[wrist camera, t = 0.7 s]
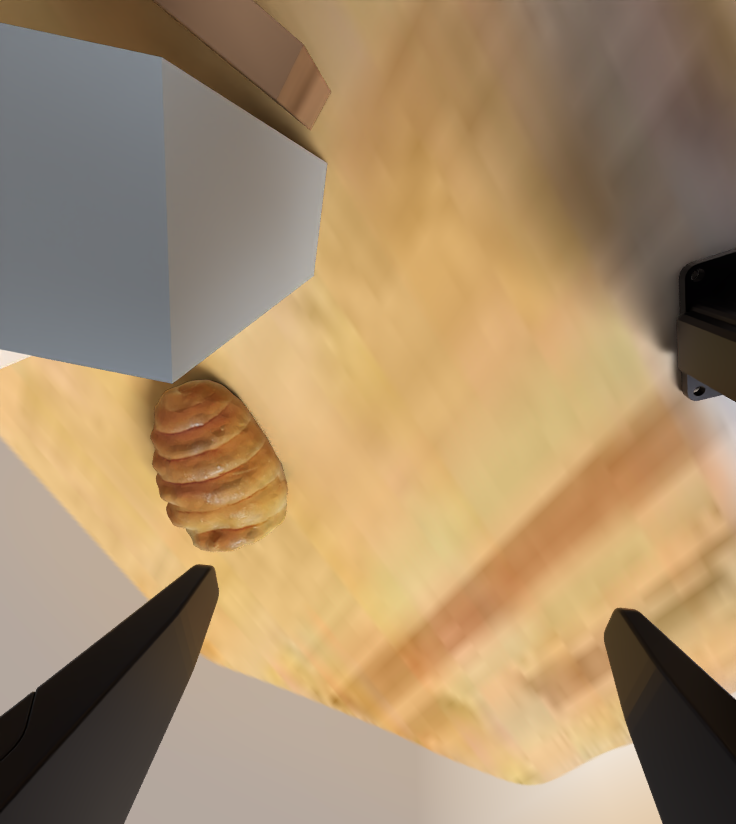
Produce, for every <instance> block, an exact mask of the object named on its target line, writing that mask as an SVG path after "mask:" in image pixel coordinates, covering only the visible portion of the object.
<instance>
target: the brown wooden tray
mask: <svg viewBox="0 0 736 824" xmlns="http://www.w3.org/2000/svg"><path fill="white" fill-rule="evenodd" d="M152 1H154V2H155V3H156V4H157V5H158V6H160V7H161V8H162V9H163V10H165V11H166V12H167V13H168V14H169V15H171V16H172V17H173V18H174V19H175V20H177V21H178V22H179V23H180V24H182V25H183V26H184V27H185V28H186V29H188V30H189V31H190V32H191V33H193V34H194V35H195V36H196V37H197V38H199V39H200V40H201V41H202V42H204V43H205V44H206V45H207V46H208V47H210V48H211V49H212V50H213V51H215V52H216V53H217V54H218V55H219V56H221V57H222V58H223V59H224V60H225V61H227V62H228V63H229V64H230V65H232V66H233V67H234V68H235V69H236V70H238V71H239V72H240V73H241V74H243V75H244V76H245V77H246V78H247V79H249V80H250V81H251V82H252V83H254V84H255V85H256V86H257V87H258V88H260V89H261V90H262V91H263V92H265V93H266V94H267V95H268V96H269V97H271V98H272V99H273V100H274V101H275V102H277V103H278V104H279V105H280V106H282V107H283V108H284V109H285V110H286V111H288V112H289V113H290V114H291V115H293V116H294V117H295V118H296V119H297V120H299V121H300V122H301V123H302V124H304V125H305V126H306V127H307V128H308V129H310V130H311V128H312V127H313V125H314V123H315V121H316V119H317V117H318V115H319V113H320V112H321V110H322V108H323V106H324V104H325V102H326V100H327V99H328V97H329V95H330V93H331V91H330V89H329V87H328V85H327V84H326V82H325V80H324V79H323V77H322V75H321V73H320V72H319V70H318V68H317V67H316V65H315V63H314V62H313V60H312V58H311V56H310V55H309V53H308V51H307V50H306V48H305V46H304V44H302V43H301V42H300V41H299V40H298V39H297V38H295V37H294V36H293V35H292V34H291V33H290V32H289V31H287V30H286V29H285V28H284V27H283V26H282V25H280V24H279V23H278V22H277V21H276V20H275V19H274V18H272V17H271V16H270V15H269V14H268V13H267V12H265V11H264V10H263V9H262V8H261V7H260V6H259V5H257V4H256V3H255V2H254V1H253V0H152Z"/></svg>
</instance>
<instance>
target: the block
mask: <svg viewBox="0 0 736 824" xmlns="http://www.w3.org/2000/svg"><path fill="white" fill-rule="evenodd" d="M326 169H327V163H326V162H325V161H323V160H321V159H320V158H318V157H317V156H315V155H314V154H312V153H311V152H309V151H307V150H306V149H304V148H303V147H301V146H300V145H298V144H296V143H295V142H293V141H292V140H290V139H289V138H287V137H286V136H284V135H282V134H281V133H279V132H278V131H276V130H275V129H273V128H271V127H270V126H268V125H267V124H265V123H264V122H262V121H261V120H259V119H257V118H256V117H254V116H253V115H251V114H250V113H248V112H247V111H245V110H243V109H242V108H240V107H239V106H237V105H236V104H234V103H232V102H231V101H229V100H228V99H226V98H225V97H223V96H222V95H220V94H218V93H217V92H215V91H214V90H212V89H211V88H209V87H207V86H206V85H204V84H203V83H201V82H200V81H198V80H197V79H195V78H193V77H192V76H190V75H189V74H187V73H186V72H184V71H182V70H181V69H179V68H178V67H176V66H175V65H173V64H172V63H170V62H168V61H167V60H165V59H164V58H162V57H158V56H154V55H149V54H144V53H140V52H135V51H130V50H126V49H121V48H116V47H112V46H107V45H102V44H98V43H93V42H88V41H84V40H79V39H74V38H70V37H65V36H60V35H56V34H51V33H46V32H42V31H37V30H32V29H28V28H23V27H18V26H14V25H9V24H4V23H0V349H1V350H6V351H11V352H16V353H21V354H26V355H31V356H36V357H41V358H46V359H51V360H56V361H61V362H66V363H71V364H76V365H81V366H86V367H91V368H96V369H102V370H107V371H112V372H117V373H122V374H127V375H132V376H137V377H142V378H147V379H152V380H157V381H162V382H167V383H172V384H173V383H174V382H175V381H176V380H178V379H179V378H180V377H182V376H183V375H184V374H186V373H187V372H188V371H190V370H191V369H192V368H194V367H195V366H196V365H197V364H199V363H200V362H201V361H203V360H204V359H205V358H207V357H208V356H209V355H211V354H212V353H213V352H214V351H216V350H217V349H218V348H220V347H221V346H222V345H224V344H225V343H226V342H228V341H229V340H230V339H232V338H233V337H234V336H235V335H237V334H238V333H239V332H241V331H242V330H243V329H245V328H246V327H247V326H249V325H250V324H251V323H252V322H254V321H255V320H256V319H258V318H259V317H260V316H262V315H263V314H264V313H266V312H267V311H268V310H270V309H271V308H272V307H273V306H275V305H276V304H277V303H279V302H280V301H281V300H283V299H284V298H285V297H287V296H288V295H289V294H291V293H292V292H293V291H294V290H296V289H297V288H298V287H300V286H301V285H302V284H304V283H305V282H306V281H308V280H309V279H310V278H311V277H313V276H314V268H315V260H316V252H317V244H318V235H319V227H320V219H321V211H322V202H323V194H324V186H325V177H326Z"/></svg>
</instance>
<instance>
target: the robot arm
mask: <svg viewBox="0 0 736 824" xmlns="http://www.w3.org/2000/svg"><path fill="white" fill-rule="evenodd" d="M696 270H698V272H699V273H698V276H697V277H696V278H695V279H693V280H692V279H691V276H692V274H693V272H694V271H696ZM679 294H680V316H679V317H678V319H677V346H678V368H679V370H681V371H682V391H683V394H684V395H685V396H686V397H688V398H689V399H691V400H694V401H699V400H703V399H707V398H712V397H716V396H720V395H724V396H726V397H728V398H730V399H731V400H733V401H735V402H736V249H733V250H730V251H727V252H723V253H720V254H717V255H714V256H711V257H707V258H704V259H701V260H698V261H695V262H691V263H689V264H687V265H686V266H685V267H684V268H683V269H682V271H681V272H680V275H679ZM699 386H700V388H699V390H698V391H697V392H694V390H695V389H696V388H697V387H699ZM693 392H694V393H693ZM218 596H219V588H218V583H217V577H216V572H215V568H214V567H213V566H210V565H200V564H198V565H195V566H193V567H192V568H190V569H189V570H188V571H186V572H185V573H184V574H183V575H181V576H180V577H179V578H177V579H176V580H175V581H174V582H172V583H171V584H170V585H169V586H167V587H166V588H165V589H163V590H162V591H161V592H160V593H158V594H157V595H156V596H154V597H153V598H152V599H151V600H149V601H148V602H147V603H146V604H144V605H143V606H142V607H141V608H139V609H138V610H137V611H135V612H134V613H133V614H132V615H130V616H129V617H128V618H126V619H125V620H124V621H122V622H121V623H120V624H119V625H117V626H116V627H115V628H113V629H112V630H111V631H110V632H108V633H107V634H106V635H105V636H104V637H102V638H101V639H100V640H98V641H97V642H96V643H94V644H93V645H92V646H90V647H89V648H88V649H87V650H85V651H84V652H83V653H81V654H80V655H79V656H78V657H76V658H75V659H74V660H73V661H71V662H70V663H69V664H67V665H66V666H65V667H64V668H62V669H61V670H60V671H58V672H57V673H56V674H55V675H53V676H52V677H51V678H49V679H48V680H47V681H46V682H45V683H43V684H42V685H40V686H39V687H38V688H37V689H36V692H32V693H30V694H29V695H27V696H26V697H25V698H24V699H23V700H21V701H20V702H18V703H17V704H16V705H15V706H13V707H12V708H11V709H9V710H8V711H7V712H5V713H4V714H3V715H2V716H0V824H124V822H125V820H126V818H127V816H128V813H129V811H130V809H131V807H132V805H133V802H134V800H135V798H136V796H137V794H138V792H139V789H140V787H141V785H142V783H143V780H144V778H145V776H146V774H147V772H148V769H149V767H150V765H151V763H152V761H153V758H154V756H155V754H156V752H157V750H158V747H159V745H160V743H161V741H162V739H163V736H164V734H165V732H166V730H167V728H168V725H169V723H170V721H171V718H172V717H173V714H174V712H175V710H176V707H177V705H178V703H179V701H180V699H181V697H182V695H183V692H184V690H185V688H186V686H187V684H188V681H189V679H190V677H191V674H192V672H193V670H194V667H195V664H196V662H197V659H198V656H199V653H200V650H201V647H202V644H203V642H204V639H205V636H206V633H207V630H208V627H209V624H210V621H211V618H212V615H213V612H214V609H215V606H216V603H217V600H218ZM604 643H605V647H606V651H607V654H608V658H609V662H610V666H611V670H612V673H613V677H614V681H615V685H616V688H617V692H618V696H619V700H620V704H621V707H622V711H623V714H624V718H625V721H626V724H627V727H628V730H629V733H630V736H631V738H632V741H633V744H634V747H635V749H636V752H637V755H638V758H639V760H640V763H641V765H642V768H643V771H644V774H645V777H646V779H647V782H648V785H649V788H650V790H651V793H652V796H653V798H654V801H655V804H656V807H657V809H658V812H659V815H660V818H661V820H662V823H663V824H736V699H735V698H734V697H732V696H731V695H730V694H729V693H728V692H727V691H726V690H725V689H724V688H723V687H721V686H720V685H719V684H718V683H717V682H716V681H715V680H714V679H713V678H712V677H711V676H709V675H708V674H707V673H706V672H705V671H704V670H703V669H702V668H701V667H700V666H698V665H697V664H696V663H695V662H694V661H693V660H692V659H691V658H690V657H689V656H687V655H686V654H685V653H684V652H683V651H682V650H681V649H680V648H679V647H678V646H677V645H675V644H674V643H673V642H672V641H671V640H670V639H669V638H668V637H667V636H666V635H664V634H663V633H662V632H661V631H660V630H659V629H658V628H657V627H656V626H655V625H653V624H652V623H651V622H650V621H649V620H648V619H647V618H646V617H645V616H644V615H643V614H641V613H640V612H639V611H637V610H634V609H627V608H616V609H615V610H614V611H613V613H612V616H611V618H610V620H609V622H608V624H607V627H606V629H605V632H604Z"/></svg>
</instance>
